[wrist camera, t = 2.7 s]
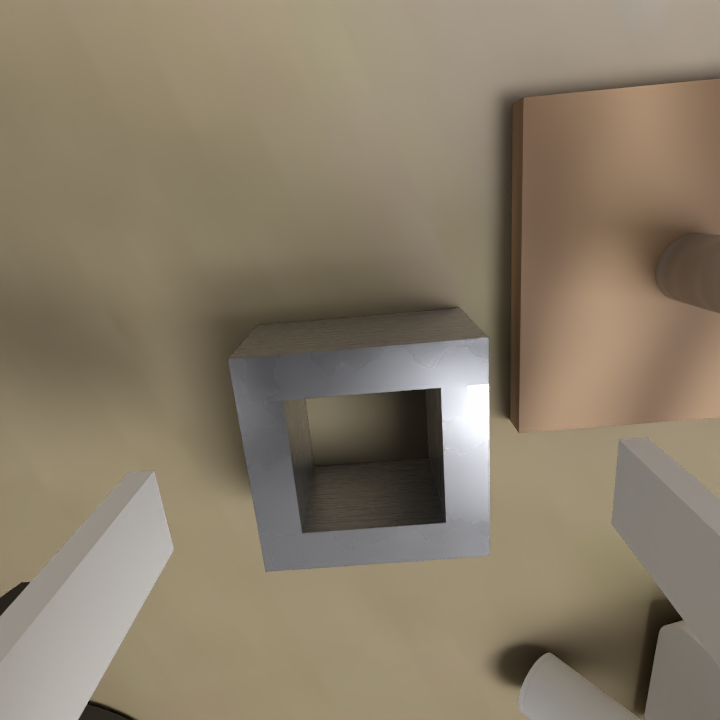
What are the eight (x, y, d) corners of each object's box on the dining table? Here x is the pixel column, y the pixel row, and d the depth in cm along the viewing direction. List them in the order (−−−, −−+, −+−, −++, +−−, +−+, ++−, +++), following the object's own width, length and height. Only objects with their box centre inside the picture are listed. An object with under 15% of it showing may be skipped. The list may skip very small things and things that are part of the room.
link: (284, 499, 22) (265, 571, 17) (257, 324, 19) (227, 359, 15) (464, 485, 21) (489, 555, 17) (459, 307, 19) (488, 337, 15)
